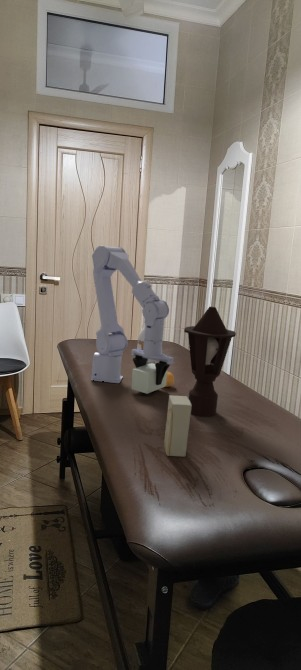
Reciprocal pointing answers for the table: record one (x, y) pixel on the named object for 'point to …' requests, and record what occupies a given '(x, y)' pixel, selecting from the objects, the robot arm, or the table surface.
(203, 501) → the table surface
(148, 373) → the mint green block
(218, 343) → the lantern
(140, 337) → the bath foam
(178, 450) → the skincare box
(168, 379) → the ball
